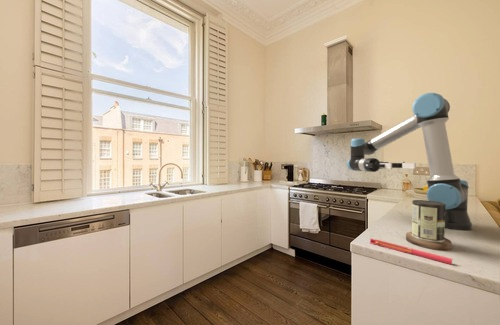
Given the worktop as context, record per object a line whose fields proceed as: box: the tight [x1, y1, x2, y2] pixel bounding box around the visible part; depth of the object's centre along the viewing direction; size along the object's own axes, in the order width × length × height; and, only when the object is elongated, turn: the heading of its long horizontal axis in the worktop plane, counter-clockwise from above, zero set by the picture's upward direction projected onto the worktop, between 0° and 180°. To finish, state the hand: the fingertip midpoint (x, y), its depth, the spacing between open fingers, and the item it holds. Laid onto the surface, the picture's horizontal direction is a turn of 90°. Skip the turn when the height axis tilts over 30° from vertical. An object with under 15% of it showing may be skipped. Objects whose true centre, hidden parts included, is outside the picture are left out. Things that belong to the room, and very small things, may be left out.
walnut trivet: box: [405, 231, 453, 251], centre depth 87 cm, size 14×14×2 cm
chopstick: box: [369, 238, 454, 265], centre depth 78 cm, size 24×2×5 cm
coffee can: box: [411, 199, 446, 242], centre depth 87 cm, size 10×10×14 cm
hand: (403, 166), depth 103 cm, fingers open, 13 cm apart
